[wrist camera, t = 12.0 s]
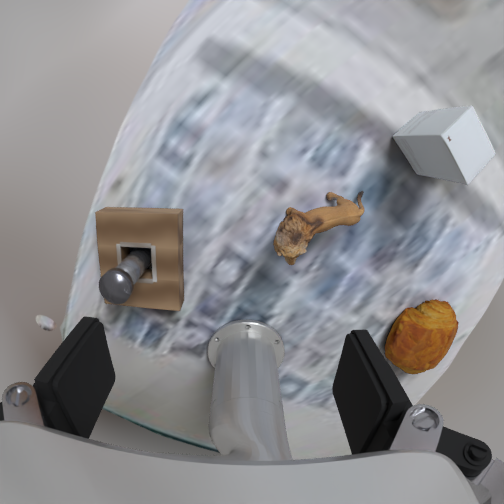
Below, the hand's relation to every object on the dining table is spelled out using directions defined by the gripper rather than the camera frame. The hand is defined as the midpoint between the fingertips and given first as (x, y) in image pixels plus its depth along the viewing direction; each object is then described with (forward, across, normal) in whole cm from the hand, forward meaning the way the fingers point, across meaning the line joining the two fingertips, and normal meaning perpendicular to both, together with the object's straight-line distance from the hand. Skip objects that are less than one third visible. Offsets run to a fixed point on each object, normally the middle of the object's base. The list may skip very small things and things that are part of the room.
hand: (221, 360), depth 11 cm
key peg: (+32, +14, +8) cm, 36 cm away
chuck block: (+32, +14, +8) cm, 36 cm away
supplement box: (+33, -26, -12) cm, 44 cm away
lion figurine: (+32, -11, +1) cm, 34 cm away
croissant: (+33, -34, +21) cm, 51 cm away
